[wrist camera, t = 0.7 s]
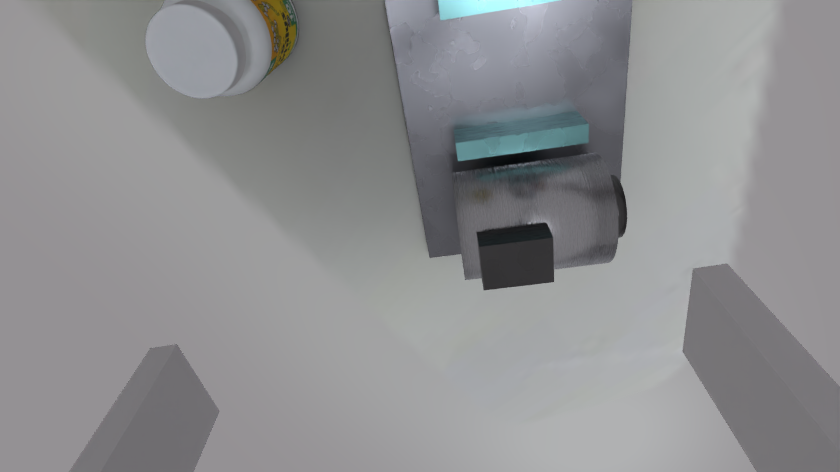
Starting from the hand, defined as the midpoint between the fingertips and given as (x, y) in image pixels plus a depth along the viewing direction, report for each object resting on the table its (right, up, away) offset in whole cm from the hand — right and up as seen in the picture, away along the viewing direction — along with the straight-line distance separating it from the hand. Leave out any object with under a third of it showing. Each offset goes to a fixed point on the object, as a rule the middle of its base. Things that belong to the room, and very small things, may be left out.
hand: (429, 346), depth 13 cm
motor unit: (+6, +10, +20) cm, 23 cm away
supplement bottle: (-10, +16, +17) cm, 25 cm away
